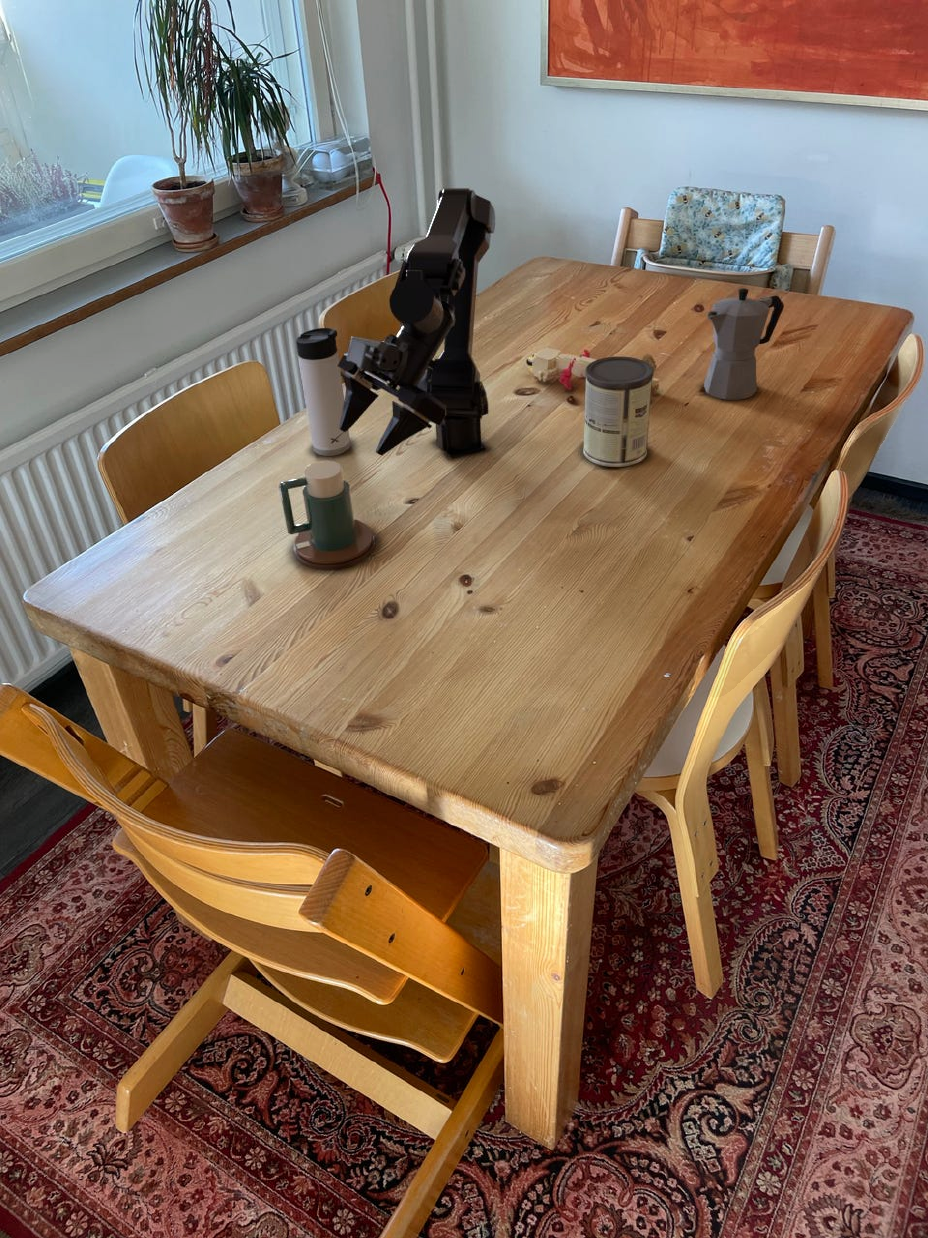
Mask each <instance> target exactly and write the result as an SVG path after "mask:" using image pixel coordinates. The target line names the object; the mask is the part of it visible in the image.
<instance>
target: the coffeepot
mask: <svg viewBox="0 0 928 1238" xmlns="http://www.w3.org/2000/svg"><path fill="white" fill-rule="evenodd" d="M748 293H749V289H748V288H745V287H743V288H739V289H738V297H724V298H722V299H720V300H718V301H716V302H714V303H713V304H712V309H711V310H709V311H708V312H707V314H706V318H707V319H709V320H710V322H711V324H712V326H713V343H714V345H715V350H714V352H713V354H712V356H711V359H710V363H709V366H708V369H707V372H706V376H705V379H704V383H703V387H704V390H705V392H706V393H707V394H708V396H711V397H714V398H715V399H718V400H719V399H720V400H725V401H741V400H745V399H748V398H750V397H752V396H753V395H754V394H755V393H756V392H757V389H758V388H757V358H756V354H755V353H756V349H757V347H759V346H760V345H764V344H767V343H769V342H770V340H771V338H772V336H773V333H774V331H775V330H776V327H777V324H778V323H779V319H780V317H781V315H782V313H783V311H784V308H785V304H784V302H783V301H782V299H781V297H780V296H779V295H777V294H775V295H771V296H763V297H760V298H759V299H755V298H751V297H748ZM771 308H773V309H772V311H771ZM770 311H771V316H770V318H769V322H768V323H767V320H768V316H769V314H770ZM766 323H767V325H766ZM765 326H766V328H765ZM764 330H765V333H764ZM763 333H764V336H763ZM762 336H763V337H762Z"/></svg>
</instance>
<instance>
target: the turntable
mask: <svg viewBox="0 0 928 1238" xmlns="http://www.w3.org/2000/svg"><path fill="white" fill-rule="evenodd" d="M372 534H373V542H372V544H371V546H370V548H369V549H368V550H367V551H366V552H365V553H363V554H362V555H360V556H358V557H356V558H354V559H352V560H349V561H345V562H341V563H334V564H321V563H314V562H311V561H308V560H306V559H304V558H302V557H301V556H300V555H299V554H298V553H297V551H296V548H295V541H294V543H293V547H292V549H293V554H294V557H295V559H296V560H297V562H299V564H301V565H303V566H304V567H306V568H309V569H312V570H317V571H339V570H343V569H349V568H351V567H354V566H357V565H360V564H361V563H363V562H364V561H366V560H367V559H369V558H370V557H371V555H372V554H373V553H374V551H375V549H376V546H377V542H376V536H375V533H374V532H373V531H372Z"/></svg>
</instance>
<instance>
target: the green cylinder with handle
mask: <svg viewBox="0 0 928 1238" xmlns="http://www.w3.org/2000/svg"><path fill="white" fill-rule="evenodd" d="M300 487H303V488H302V490H301V491H302V492H301V493H302V497H303V498H302V499H303V504H304V509H305V516H306V521H307V522H305V523H300V524H296V525H295V519H294V514H293V507H292V503H291V498H290V497H291V496H290V492H289V490H291V489H296V488H300ZM278 490H279V493H280V499H281V504H282V510H283V514H284V519H285V525H286V531H287V533H288V534H289V535H296V534H297V535H296V536H295V539H294V542H295V548H296V551H297V553H298V554H299V555H300V556H301V557H302V558H304V559H306V560H308V561H311V562H314V563H321V564H334V563H341V562H345V561H349V560H352V559H354V558H356V557H358V556H360V555H362V554H363V553H365V552H366V551H367V550H368V549H369V548H370V546H371V544H372V542H373V534H372V532H373V531H372V529H371V527H370V526H369V525H367V524H366V523H365V522H364V521H361V520H359V519H355V516H354V509H353V501H352V495H351V486H350V484H349V482H348V481H346V480H345V479H344V475H343V468H342V465H341V464H340V463H339V462H337V461H333V460H319V461H315V462H312V463H310V464H309V465H306V467H305V469H304V477H299V478H293V479H290V480H285V481H281V482H280V483H279V484H278Z"/></svg>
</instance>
